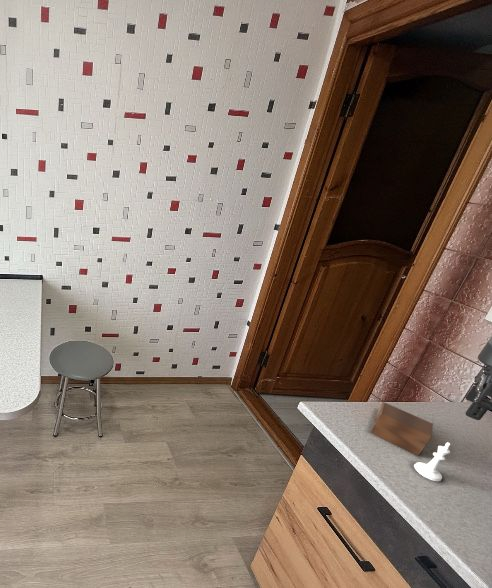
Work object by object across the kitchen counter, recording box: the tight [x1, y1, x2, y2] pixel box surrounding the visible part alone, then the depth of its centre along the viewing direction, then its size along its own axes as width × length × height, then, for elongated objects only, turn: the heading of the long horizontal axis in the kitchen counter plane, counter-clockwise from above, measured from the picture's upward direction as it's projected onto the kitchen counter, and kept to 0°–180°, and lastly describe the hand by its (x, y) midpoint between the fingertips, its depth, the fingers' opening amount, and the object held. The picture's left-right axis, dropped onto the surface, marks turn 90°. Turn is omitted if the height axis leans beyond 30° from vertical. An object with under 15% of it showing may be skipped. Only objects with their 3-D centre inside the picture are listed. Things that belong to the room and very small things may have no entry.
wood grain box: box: [369, 401, 434, 457], centre depth 93 cm, size 10×14×7 cm
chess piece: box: [413, 441, 451, 482], centre depth 80 cm, size 5×5×10 cm
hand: (471, 408), depth 75 cm, fingers open, 8 cm apart
